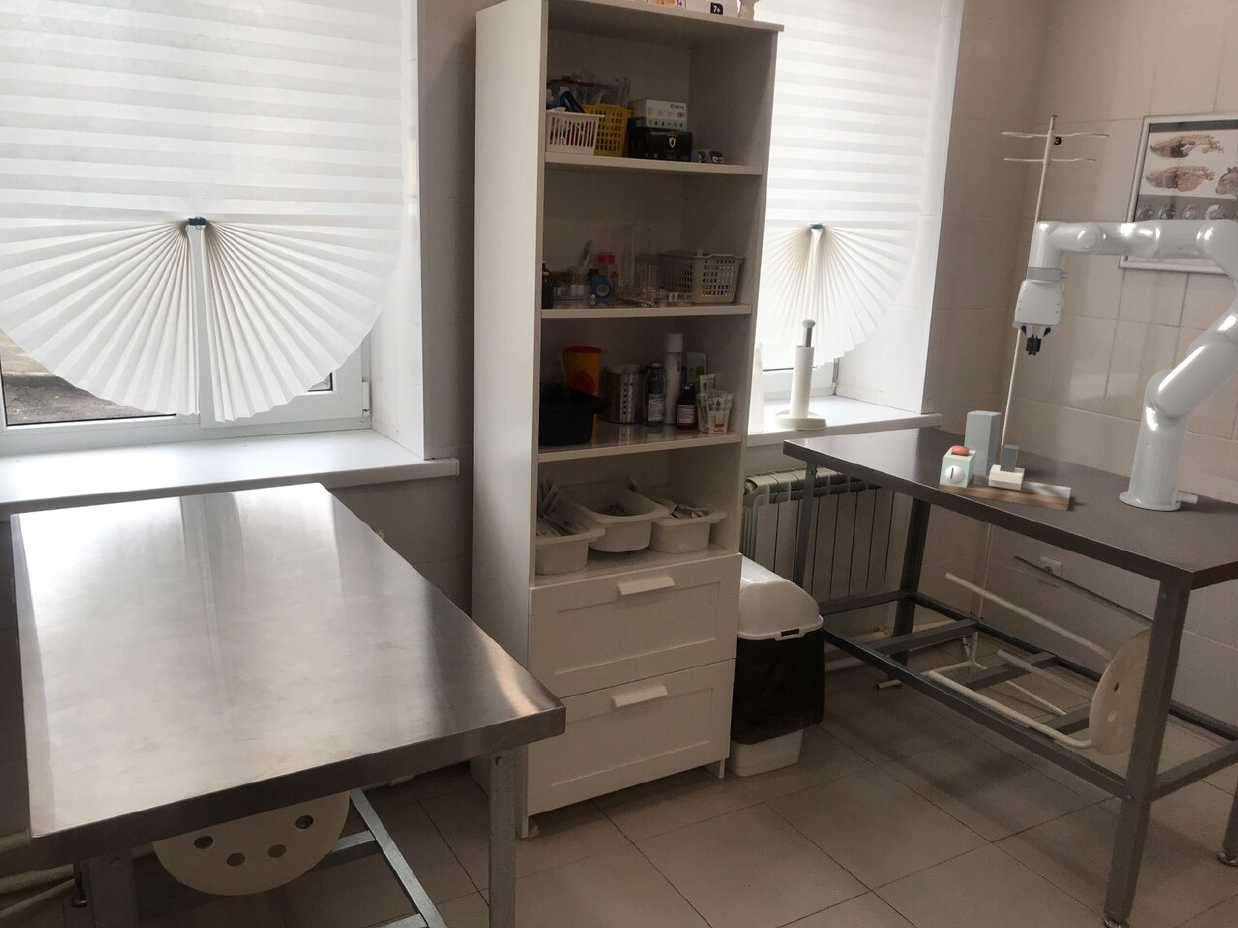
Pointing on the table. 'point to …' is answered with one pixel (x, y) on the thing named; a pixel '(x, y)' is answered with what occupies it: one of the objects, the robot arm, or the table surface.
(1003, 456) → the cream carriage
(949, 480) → the sage gauge cabinet
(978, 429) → the skincare box
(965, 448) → the red reset button
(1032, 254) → the robot arm
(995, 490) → the walnut rail board
